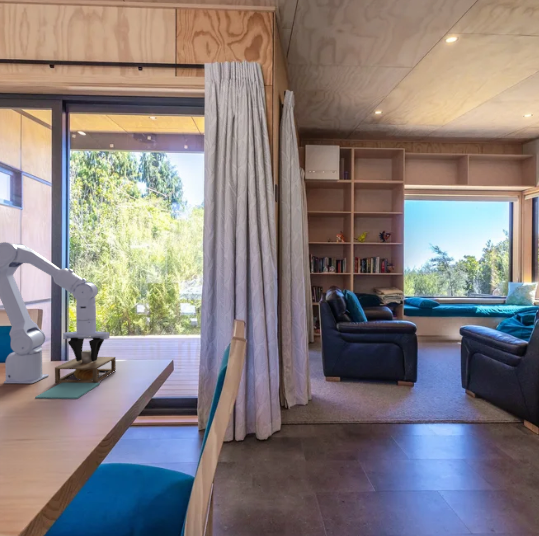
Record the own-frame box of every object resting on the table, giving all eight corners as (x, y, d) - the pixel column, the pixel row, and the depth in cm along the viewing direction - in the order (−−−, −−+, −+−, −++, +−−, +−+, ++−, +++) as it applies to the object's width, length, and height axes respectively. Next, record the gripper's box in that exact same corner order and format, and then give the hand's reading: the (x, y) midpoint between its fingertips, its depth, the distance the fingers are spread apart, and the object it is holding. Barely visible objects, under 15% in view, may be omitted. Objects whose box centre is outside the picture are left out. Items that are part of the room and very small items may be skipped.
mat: (35, 398, 100) (35, 396, 100) (61, 383, 112) (61, 382, 112) (77, 398, 99) (77, 397, 99) (99, 384, 111) (99, 382, 111)
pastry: (104, 378, 118) (104, 367, 118) (82, 383, 113) (81, 371, 113) (93, 372, 124) (93, 361, 124) (71, 377, 119) (71, 365, 119)
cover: (55, 383, 113) (54, 356, 112) (78, 370, 126) (78, 346, 125) (95, 383, 112) (95, 356, 112) (115, 371, 125) (115, 346, 125)
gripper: (57, 321, 115) (57, 363, 115) (101, 321, 114) (102, 364, 114) (70, 317, 122) (70, 358, 122) (112, 317, 121) (112, 358, 121)
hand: (86, 360), depth 119 cm, fingers open, 4 cm apart
